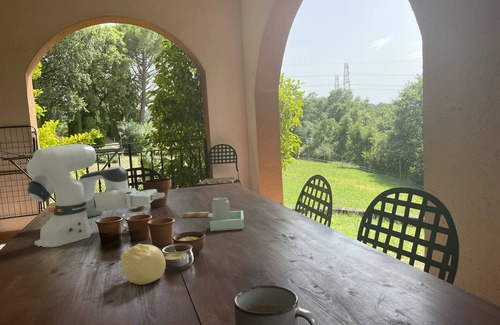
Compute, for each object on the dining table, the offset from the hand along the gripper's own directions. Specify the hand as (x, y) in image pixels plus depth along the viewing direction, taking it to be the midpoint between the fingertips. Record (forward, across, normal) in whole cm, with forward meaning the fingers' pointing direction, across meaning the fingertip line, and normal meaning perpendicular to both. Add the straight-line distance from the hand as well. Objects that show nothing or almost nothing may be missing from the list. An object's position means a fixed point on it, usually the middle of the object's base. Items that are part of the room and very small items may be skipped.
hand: (164, 195), depth 170 cm
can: (+24, +2, -16) cm, 28 cm away
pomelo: (+2, +58, -16) cm, 60 cm away
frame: (+26, +2, -15) cm, 30 cm away
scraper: (+13, -18, -15) cm, 27 cm away
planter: (-45, -39, -13) cm, 61 cm away
